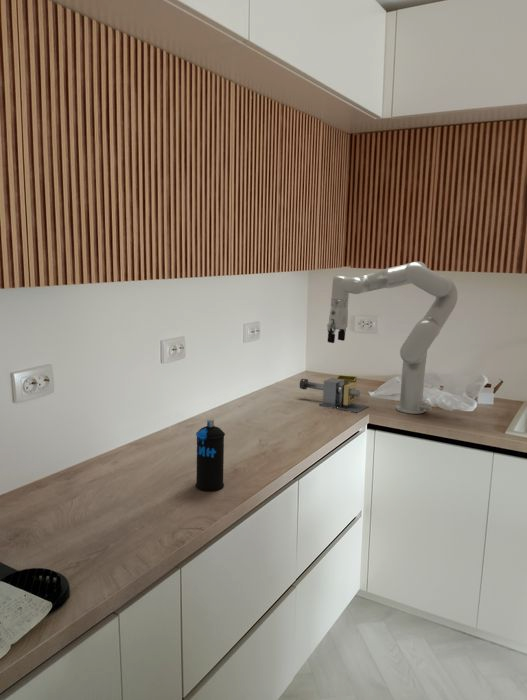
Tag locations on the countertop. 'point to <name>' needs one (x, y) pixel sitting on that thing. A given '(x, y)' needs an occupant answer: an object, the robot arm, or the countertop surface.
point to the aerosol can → (210, 457)
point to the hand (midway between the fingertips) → (336, 341)
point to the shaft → (305, 384)
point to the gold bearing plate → (347, 397)
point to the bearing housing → (331, 393)
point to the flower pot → (347, 379)
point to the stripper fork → (342, 396)
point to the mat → (353, 407)
